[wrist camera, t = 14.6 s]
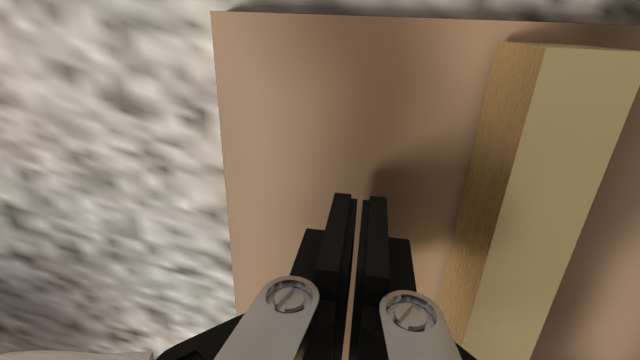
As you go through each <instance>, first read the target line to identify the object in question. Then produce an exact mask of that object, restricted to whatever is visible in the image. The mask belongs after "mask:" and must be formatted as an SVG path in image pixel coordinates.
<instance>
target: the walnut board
mask: <svg viewBox="0 0 640 360" xmlns="http://www.w3.org/2000/svg"><path fill="white" fill-rule="evenodd" d="M210 14H211V25H212V37H213V48H214V60H215V72H216V83H217V95H218V106H219V118H220V129H221V141H222V153H223V164H224V176H225V187H226V199H227V210H228V222H229V233H230V245H231V257H232V268H233V280H234V291H235V303H236V314H237V316H239V315H241V314H244V313H246V311H247V310H248V308H249V307H250V305H251V304H252V302H253V301H254V299H255V298H256V296H257V295H258V294H259V292H260V291H261V289H262V288H263V287H264V286H265V285H266V284H267V283H268V282H270V281H271V280H273V279H276V278H279V277H282V276H289V275H290V272H291V269H292V267H293V264H294V261H295V258H296V255H297V253H298V250H299V247H300V244H301V242H302V239H303V236H304V233H305V231H306V229H307V228H310V229H319V230H325V228H326V224H327V220H328V216H329V213H330V209H331V205H332V201H333V198H334V194H335V193H346V194H351V198H352V199H358V200H357V213H356V225H355V237H354V249H353V261H352V272H351V282H350V291H349V299H348V308H347V317H346V326H345V335H344V344H343V353H342V360H348V357H349V346H350V334H351V323H352V312H353V301H354V290H355V279H356V268H357V257H358V246H359V236H360V225H361V215H362V204H363V200H369V199H370V196H377V197H387V214H388V237H392V238H401V239H409V241H410V247H411V254H412V261H413V268H414V275H415V283H416V290H417V293H420V294H423V295H425V296H426V297H428V298H430V299H432V300H433V301H434V302H435V303H436V304H437V305H438V301H439V296H440V292H441V288H442V283H443V279H444V274H445V270H446V265H447V261H448V257H449V252H450V248H451V243H452V239H453V234H454V230H455V225H456V221H457V217H458V212H459V208H460V203H461V199H462V194H463V190H464V186H465V181H466V177H467V172H468V168H469V163H470V159H471V155H472V150H473V146H474V141H475V137H476V132H477V128H478V124H479V119H480V115H481V110H482V106H483V101H484V97H485V92H486V88H487V84H488V79H489V75H490V70H491V66H492V61H493V57H494V53H495V48H496V44H497V41H507V42H532V43H556V44H575V45H585V46H595V47H605V48H615V49H626V50H636V51H640V25H619V24H589V23H559V22H529V21H500V20H470V19H440V18H410V17H380V16H351V15H321V14H291V13H261V12H231V11H210ZM530 360H640V86H639V88H638V91H637V93H636V96H635V98H634V101H633V103H632V106H631V108H630V111H629V113H628V116H627V118H626V121H625V123H624V126H623V128H622V131H621V133H620V136H619V138H618V141H617V143H616V146H615V148H614V150H613V153H612V155H611V158H610V160H609V163H608V165H607V168H606V170H605V173H604V175H603V178H602V180H601V183H600V185H599V188H598V190H597V193H596V195H595V198H594V200H593V203H592V205H591V208H590V210H589V213H588V215H587V218H586V220H585V223H584V225H583V228H582V230H581V233H580V235H579V238H578V240H577V243H576V245H575V248H574V250H573V253H572V255H571V258H570V260H569V263H568V265H567V268H566V270H565V273H564V275H563V277H562V280H561V282H560V285H559V287H558V290H557V292H556V295H555V297H554V300H553V302H552V305H551V307H550V310H549V312H548V315H547V317H546V320H545V322H544V325H543V327H542V330H541V332H540V335H539V337H538V340H537V342H536V345H535V347H534V350H533V352H532V355H531V357H530Z"/></svg>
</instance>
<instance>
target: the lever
mask: <svg viewBox="0 0 640 360" xmlns="http://www.w3.org/2000/svg"><path fill="white" fill-rule="evenodd" d="M639 86H640V51H636V50H626V49H615V48H605V47H595V46H585V45H575V44H556V43H532V42H507V41H497V44H496V48H495V53H494V57H493V61H492V66H491V70H490V75H489V79H488V84H487V88H486V92H485V97H484V101H483V106H482V110H481V115H480V119H479V124H478V128H477V132H476V137H475V141H474V146H473V150H472V155H471V159H470V163H469V168H468V172H467V177H466V181H465V186H464V190H463V194H462V199H461V203H460V208H459V212H458V217H457V221H456V225H455V230H454V234H453V239H452V243H451V248H450V252H449V257H448V261H447V265H446V270H445V274H444V279H443V283H442V288H441V292H440V296H439V301H438V306H439V308H440V309H441V311H442V313H443V315H444V317H445V320H446V322H447V325H448V327H449V329H450V332H451V334H452V337H453V339H454V341H455V342H456V343H457V344H458V345H459V346H461V347H462V348H463V349H465V350H466V351H467V352H468V353H470V354H471V355H472V356H473V357H475V358H476V359H477V360H530V357H531V355H532V352H533V350H534V347H535V345H536V342H537V340H538V337H539V335H540V332H541V330H542V327H543V325H544V322H545V320H546V317H547V315H548V312H549V310H550V307H551V305H552V302H553V300H554V297H555V295H556V292H557V290H558V287H559V285H560V282H561V280H562V277H563V275H564V273H565V270H566V268H567V265H568V263H569V260H570V258H571V255H572V253H573V250H574V248H575V245H576V243H577V240H578V238H579V235H580V233H581V230H582V228H583V225H584V223H585V220H586V218H587V215H588V213H589V210H590V208H591V205H592V203H593V200H594V198H595V195H596V193H597V190H598V188H599V185H600V183H601V180H602V178H603V175H604V173H605V170H606V168H607V165H608V163H609V160H610V158H611V155H612V153H613V150H614V148H615V146H616V143H617V141H618V138H619V136H620V133H621V131H622V128H623V126H624V123H625V121H626V118H627V116H628V113H629V111H630V108H631V106H632V103H633V101H634V98H635V96H636V93H637V91H638V88H639Z"/></svg>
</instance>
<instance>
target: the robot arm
mask: <svg viewBox="0 0 640 360" xmlns="http://www.w3.org/2000/svg"><path fill="white" fill-rule="evenodd" d="M357 200H358V199H352V198H351V194H346V193H335V194H334V198H333V201H332V205H331V209H330V213H329V216H328V220H327V224H326V228H325V230H319V229H310V228H307V229H306V231H305V233H304V236H303V239H302V242H301V244H300V247H299V250H298V253H297V255H296V258H295V261H294V264H293V267H292V269H291V272H290V275H289V276H282V277H279V278H276V279H273V280H271V281H270V282H268V283H267V284H266V285H265V286H264V287H263V288H262V289H261V291H260V292H259V294H258V295H257V296H256V298H255V299H254V301H253V302H252V304H251V305H250V307H249V308H248V310H247V311H246V313H244V314H241V315H239V316H237V317H235V318H233V319H231V320H229V321H226V322H224V323H222V324H220V325H218V326H216V327H213V328H211V329H209V330H207V331H205V332H203V333H201V334H198V335H196V336H194V337H192V338H190V339H188V340H185V341H183V342H181V343H179V344H177V345H175V346H173V347H171V348H169V349H168V350H166V351H164V352H163V353H162V354H161V355H160V356H155V357H154V356H153V352H152V351H149V352H131V353H112V354H97V353H87V352H77V351H59V350H36V351H21V352H9V353H3V354H0V360H342V353H343V344H344V335H345V326H346V317H347V308H348V299H349V291H350V282H351V272H352V261H353V249H354V237H355V225H356V213H357ZM348 360H477V359H476V358H475V357H473V356H472V355H471V354H470V353H468V352H467V351H466V350H465V349H463V348H462V347H461V346H459V345H458V344H457V343H456V342H455V341H454V339H453V337H452V334H451V332H450V329H449V327H448V325H447V322H446V320H445V317H444V315H443V313H442V311H441V309H440V308H439V306H438V305H437V304H436V303H435V302H434V301H433V300H432V299H430V298H428V297H426V296H425V295H423V294H420V293H417V290H416V283H415V275H414V268H413V261H412V254H411V247H410V241H409V239H401V238H392V237H388V214H387V197H377V196H370V199H369V200H363V204H362V215H361V225H360V236H359V246H358V257H357V268H356V279H355V290H354V301H353V312H352V323H351V334H350V346H349V357H348Z"/></svg>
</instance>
